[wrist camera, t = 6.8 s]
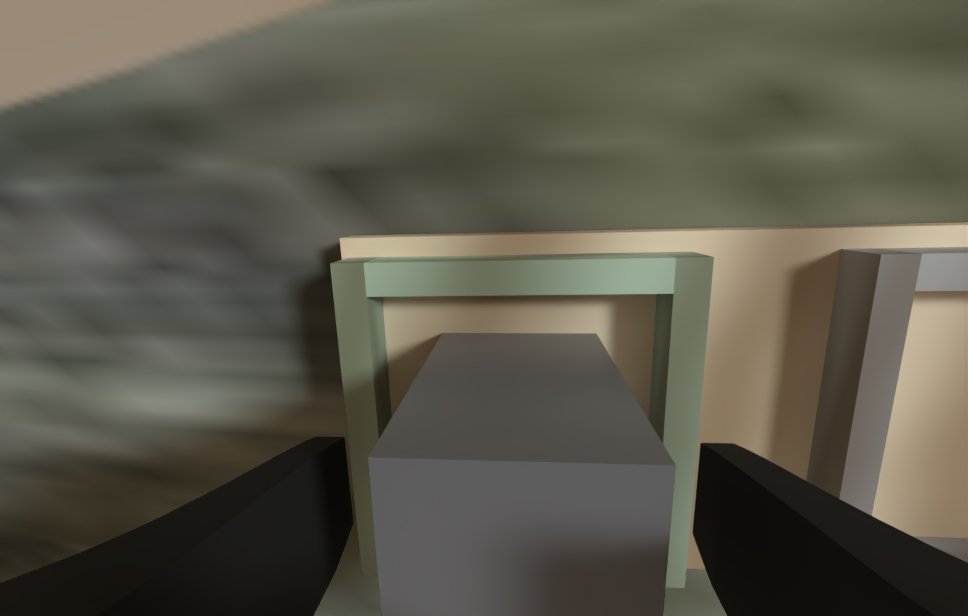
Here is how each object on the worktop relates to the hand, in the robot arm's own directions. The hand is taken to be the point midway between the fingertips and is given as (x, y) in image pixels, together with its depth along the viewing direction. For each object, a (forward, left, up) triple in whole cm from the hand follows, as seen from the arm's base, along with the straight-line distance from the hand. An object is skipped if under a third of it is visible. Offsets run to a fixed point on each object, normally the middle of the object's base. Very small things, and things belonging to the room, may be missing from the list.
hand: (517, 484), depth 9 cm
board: (+5, -4, -4) cm, 7 cm away
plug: (0, 0, -3) cm, 3 cm away
